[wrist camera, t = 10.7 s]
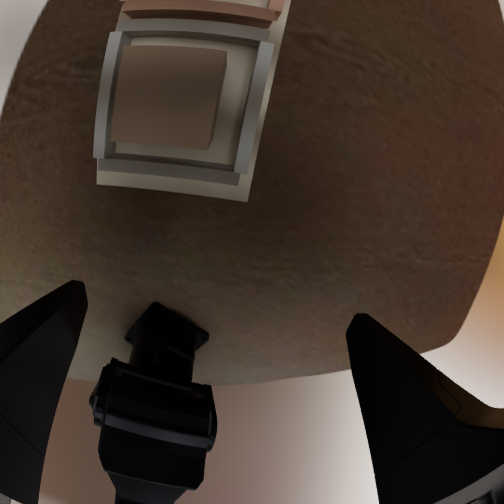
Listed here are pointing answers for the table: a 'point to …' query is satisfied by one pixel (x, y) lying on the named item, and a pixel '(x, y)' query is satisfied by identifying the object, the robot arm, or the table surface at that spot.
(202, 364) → the table surface
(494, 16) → the table surface
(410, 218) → the table surface
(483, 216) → the table surface
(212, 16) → the grey-brown divided tray
